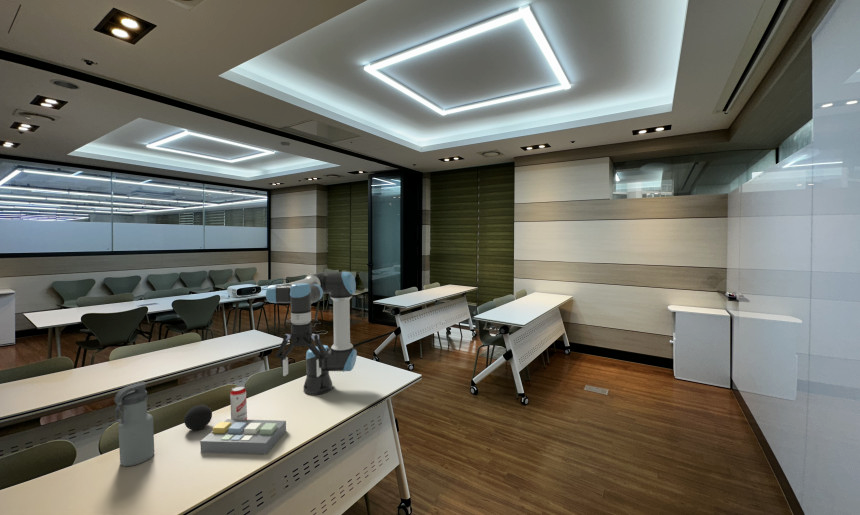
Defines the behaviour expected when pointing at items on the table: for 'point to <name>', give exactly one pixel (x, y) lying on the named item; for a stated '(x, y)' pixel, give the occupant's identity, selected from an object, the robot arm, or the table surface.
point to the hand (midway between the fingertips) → (302, 375)
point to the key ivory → (253, 428)
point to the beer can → (238, 403)
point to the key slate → (237, 428)
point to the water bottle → (134, 425)
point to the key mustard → (221, 427)
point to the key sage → (268, 429)
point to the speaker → (198, 417)
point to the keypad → (243, 439)
